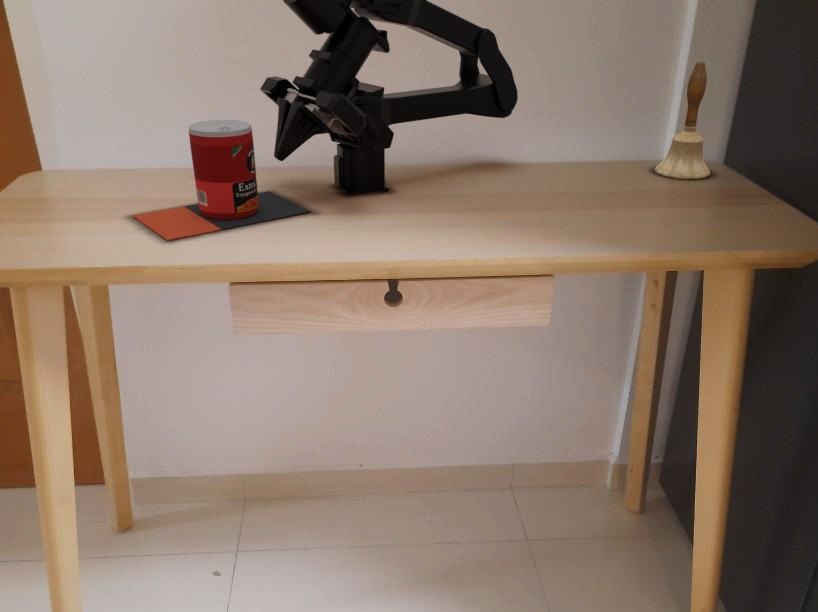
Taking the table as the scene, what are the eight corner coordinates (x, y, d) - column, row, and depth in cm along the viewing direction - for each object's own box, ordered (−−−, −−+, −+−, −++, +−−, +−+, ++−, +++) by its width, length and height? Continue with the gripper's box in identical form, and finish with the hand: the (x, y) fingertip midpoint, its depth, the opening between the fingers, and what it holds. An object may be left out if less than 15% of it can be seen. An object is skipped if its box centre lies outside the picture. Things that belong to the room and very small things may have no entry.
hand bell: (682, 182, 117) (703, 67, 108) (643, 169, 123) (660, 60, 115) (721, 175, 120) (745, 63, 112) (681, 164, 126) (701, 57, 118)
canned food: (247, 222, 99) (238, 132, 93) (189, 218, 100) (176, 130, 95) (267, 205, 105) (260, 120, 100) (212, 201, 107) (202, 118, 101)
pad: (183, 207, 105) (183, 206, 105) (221, 230, 97) (221, 228, 97) (132, 216, 102) (132, 215, 101) (167, 241, 93) (167, 239, 93)
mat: (269, 192, 112) (269, 191, 111) (311, 212, 103) (311, 211, 103) (183, 207, 105) (183, 206, 105) (221, 230, 97) (221, 228, 97)
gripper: (418, 107, 102) (354, 207, 103) (342, 89, 115) (286, 178, 116) (364, 50, 94) (296, 159, 95) (290, 37, 107) (230, 133, 108)
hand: (277, 159), depth 104 cm, fingers closed
